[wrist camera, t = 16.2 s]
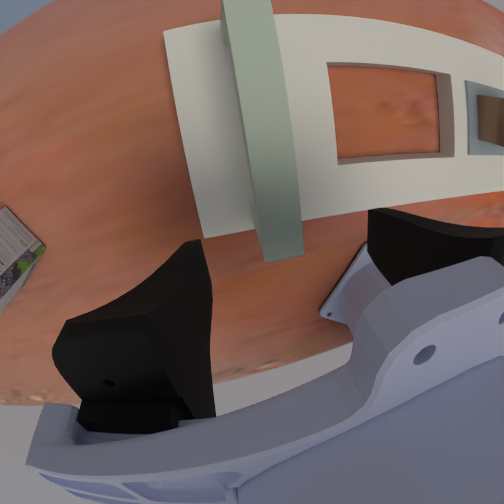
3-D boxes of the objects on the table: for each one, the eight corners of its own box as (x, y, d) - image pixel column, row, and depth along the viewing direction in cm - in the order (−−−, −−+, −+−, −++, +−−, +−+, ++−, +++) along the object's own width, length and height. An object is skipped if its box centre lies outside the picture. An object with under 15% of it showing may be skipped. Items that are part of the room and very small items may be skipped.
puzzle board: (491, 57, 15) (507, 57, 13) (495, 184, 22) (509, 191, 20) (168, 38, 15) (162, 30, 13) (205, 227, 21) (203, 240, 19)
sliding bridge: (254, 21, 13) (268, -11, 8) (283, 218, 19) (304, 255, 14) (220, 25, 13) (221, -6, 8) (253, 224, 19) (265, 262, 14)
